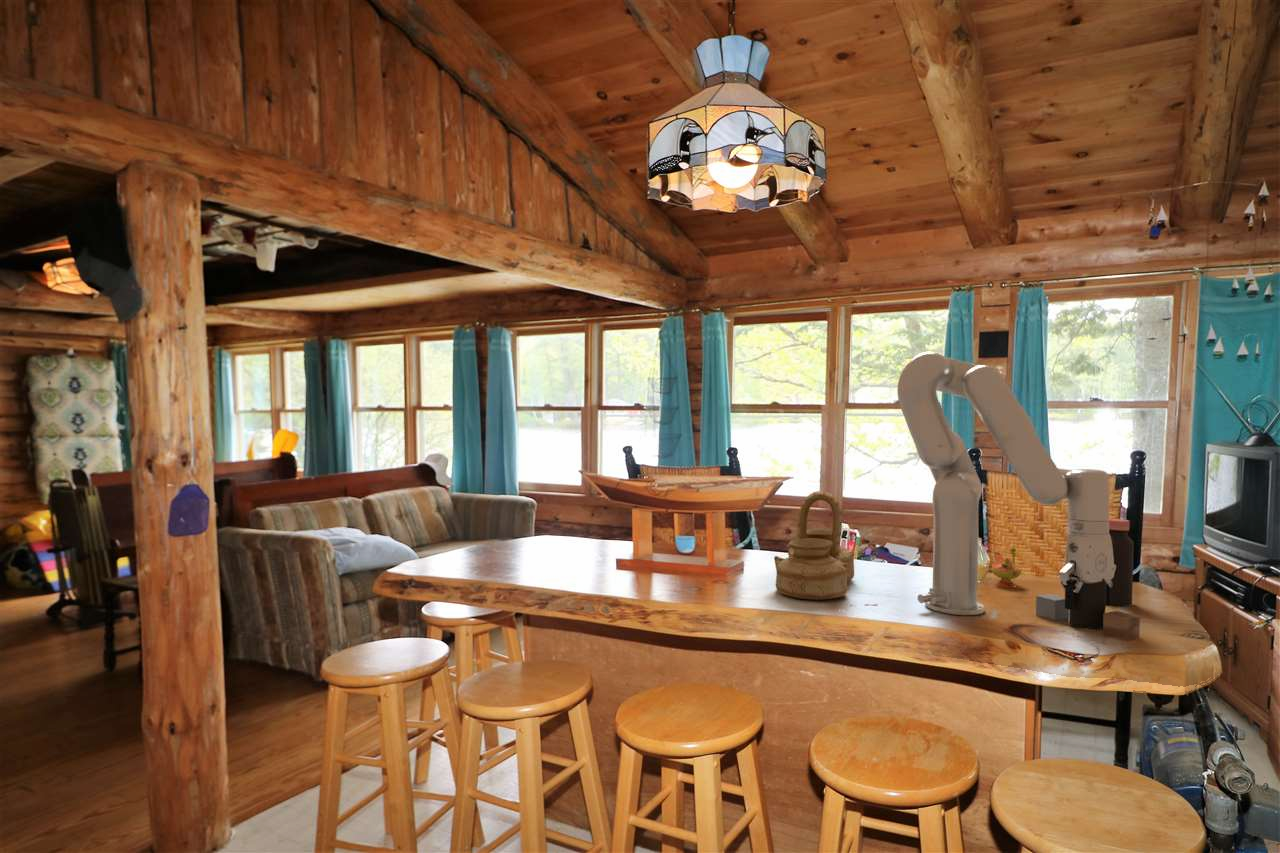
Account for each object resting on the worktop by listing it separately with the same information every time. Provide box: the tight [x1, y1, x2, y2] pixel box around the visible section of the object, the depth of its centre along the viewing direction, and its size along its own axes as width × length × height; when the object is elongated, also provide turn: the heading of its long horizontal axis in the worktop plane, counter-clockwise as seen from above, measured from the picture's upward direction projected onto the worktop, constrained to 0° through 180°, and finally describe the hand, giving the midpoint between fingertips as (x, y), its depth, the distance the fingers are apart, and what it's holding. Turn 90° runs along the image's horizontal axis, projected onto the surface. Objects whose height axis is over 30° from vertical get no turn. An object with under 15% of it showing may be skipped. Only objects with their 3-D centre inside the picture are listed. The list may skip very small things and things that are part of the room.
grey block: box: [1035, 593, 1068, 621], centre depth 161 cm, size 4×4×4 cm
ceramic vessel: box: [773, 490, 856, 601], centre depth 186 cm, size 34×18×25 cm, turn 159°
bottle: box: [1109, 517, 1135, 607], centre depth 172 cm, size 7×7×20 cm
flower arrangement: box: [991, 547, 1021, 588], centre depth 191 cm, size 7×18×11 cm, turn 167°
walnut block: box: [1102, 610, 1141, 642], centre depth 147 cm, size 4×4×4 cm
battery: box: [1067, 575, 1107, 629], centre depth 154 cm, size 7×4×11 cm, turn 72°
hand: (1087, 607), depth 154 cm, fingers open, 9 cm apart
